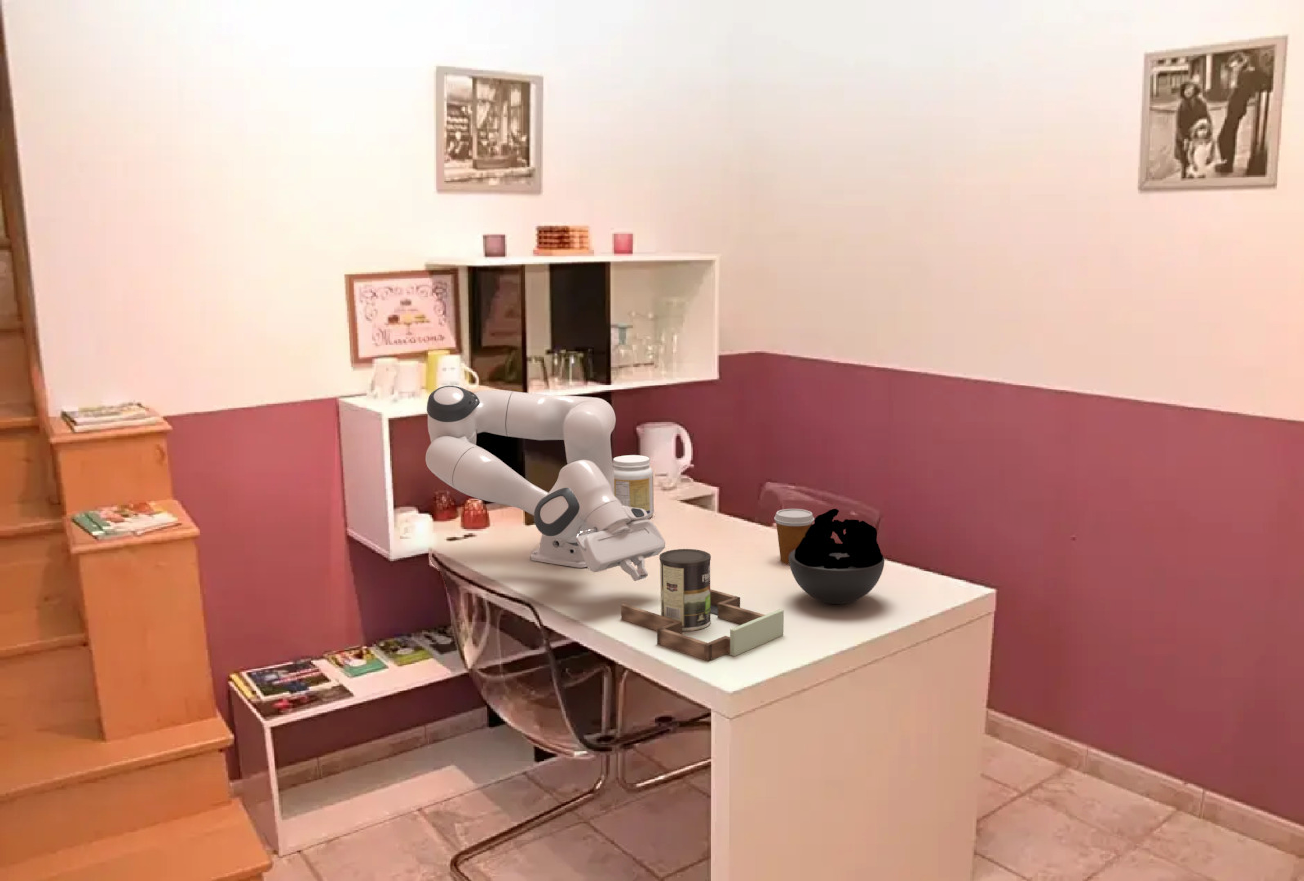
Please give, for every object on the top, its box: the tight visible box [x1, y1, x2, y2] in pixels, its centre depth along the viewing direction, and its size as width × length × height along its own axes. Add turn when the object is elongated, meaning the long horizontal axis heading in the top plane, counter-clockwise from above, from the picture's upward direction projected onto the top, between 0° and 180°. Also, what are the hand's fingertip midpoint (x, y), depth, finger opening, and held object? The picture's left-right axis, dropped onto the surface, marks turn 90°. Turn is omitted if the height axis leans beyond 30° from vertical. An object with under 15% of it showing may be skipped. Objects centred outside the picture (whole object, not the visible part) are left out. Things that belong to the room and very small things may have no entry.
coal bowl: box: [788, 508, 885, 605], centre depth 223 cm, size 20×20×19 cm
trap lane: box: [620, 588, 765, 662], centre depth 211 cm, size 29×25×3 cm
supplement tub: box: [612, 454, 655, 520], centre depth 298 cm, size 12×12×17 cm
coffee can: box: [658, 548, 712, 632], centre depth 212 cm, size 10×10×14 cm
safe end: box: [729, 608, 785, 657], centre depth 200 cm, size 1×15×5 cm, turn 136°
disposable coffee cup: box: [773, 508, 815, 566], centre depth 253 cm, size 10×10×12 cm
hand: (641, 578), depth 219 cm, fingers closed
